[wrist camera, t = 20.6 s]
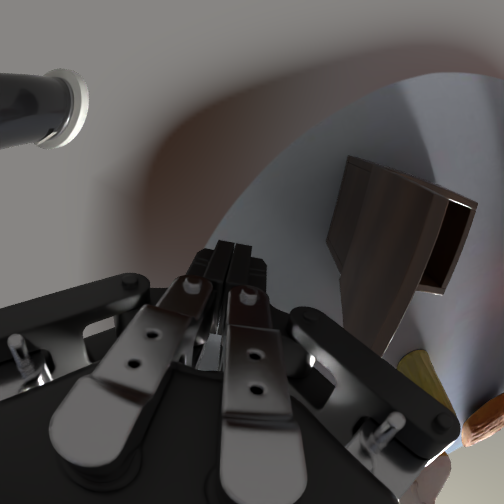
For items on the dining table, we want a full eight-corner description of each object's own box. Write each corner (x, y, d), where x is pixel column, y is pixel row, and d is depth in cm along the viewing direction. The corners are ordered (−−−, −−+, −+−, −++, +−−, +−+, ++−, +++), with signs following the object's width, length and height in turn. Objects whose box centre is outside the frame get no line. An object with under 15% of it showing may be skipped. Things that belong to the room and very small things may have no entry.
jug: (363, 447, 54) (381, 552, 27) (430, 414, 49) (466, 519, 21) (387, 464, 60) (403, 547, 32) (442, 436, 54) (469, 519, 27)
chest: (437, 184, 30) (478, 203, 22) (412, 260, 34) (443, 295, 26) (347, 154, 30) (375, 164, 22) (325, 242, 34) (342, 278, 26)
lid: (449, 199, 9) (433, 192, 9) (359, 394, 13) (345, 392, 13) (381, 166, 21) (372, 164, 21) (347, 281, 25) (338, 279, 26)
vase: (401, 351, 41) (432, 419, 28) (432, 346, 40) (466, 408, 27) (393, 376, 43) (416, 441, 30) (422, 371, 43) (449, 431, 30)
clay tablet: (460, 407, 49) (471, 430, 41) (512, 373, 45) (525, 393, 37) (456, 438, 56) (463, 457, 49) (500, 410, 52) (509, 428, 45)
